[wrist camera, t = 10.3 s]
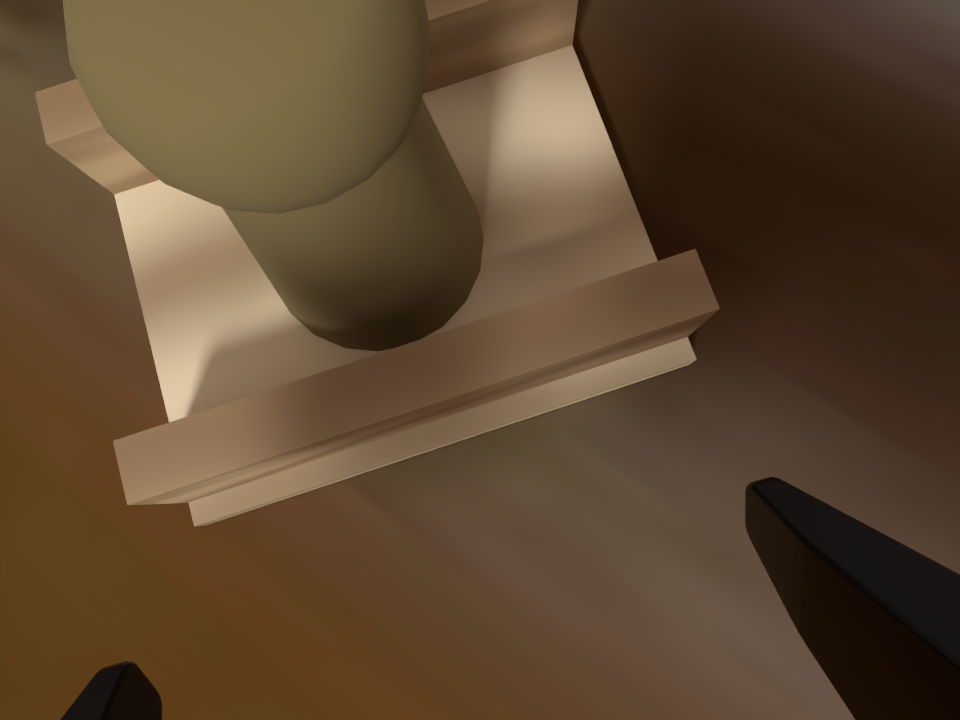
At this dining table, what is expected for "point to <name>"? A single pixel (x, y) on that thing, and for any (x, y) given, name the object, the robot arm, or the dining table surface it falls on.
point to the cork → (297, 147)
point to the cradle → (442, 354)
